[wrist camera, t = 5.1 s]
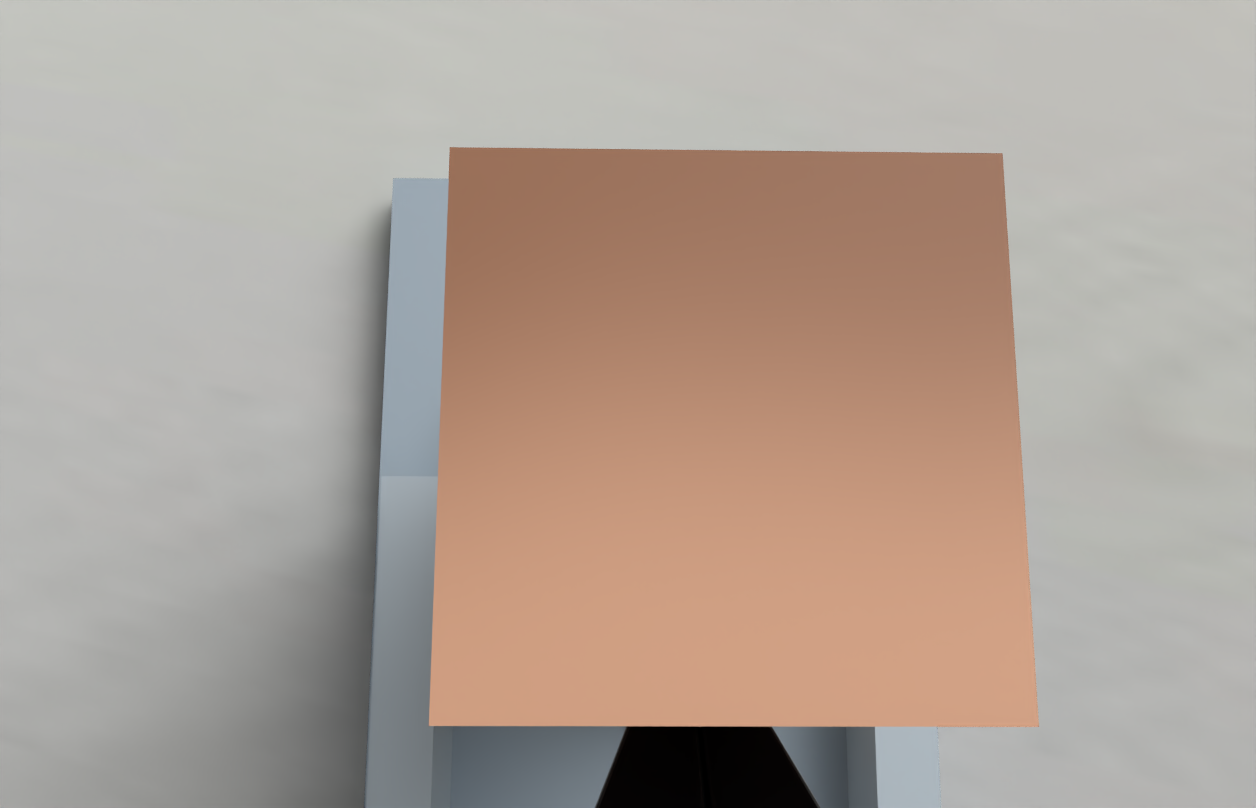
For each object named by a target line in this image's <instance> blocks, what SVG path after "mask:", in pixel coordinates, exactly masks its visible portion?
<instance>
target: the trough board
mask: <svg viewBox="0 0 1256 808" xmlns="http://www.w3.org/2000/svg"><path fill="white" fill-rule="evenodd" d="M448 185H449V179H420V178H393V196H392V218H391V239H390V261H389V282H388V304H387V325H386V347H385V368H384V390H383V412H382V433H381V455H380V476H379V498H378V519H377V541H376V562H375V584H374V606H373V627H372V649H371V670H370V692H369V713H368V735H367V756H366V778H365V800H364V808H595V806H596V803H597V800H598V798H599V795H600V793H601V790H602V788H603V785H604V783H605V780H606V777H607V775H608V772H609V770H610V767H611V765H612V762H613V760H614V757H615V754H616V752H617V749H618V747H619V744H620V742H621V739H622V737H623V734H624V731H625V729H626V726H429V707H430V680H431V652H432V625H433V597H434V570H435V542H436V515H437V487H438V460H439V432H440V405H441V377H442V350H443V323H444V295H445V268H446V240H447V213H448ZM772 727H773V729H774V731H775V732H776V734H777V736H778V737H779V739H780V741H781V742H782V744H783V746H784V747H785V749H786V751H787V752H788V754H789V756H790V757H791V759H792V761H793V762H794V764H795V766H796V767H797V769H798V770H799V772H800V774H801V775H802V777H803V779H804V780H805V782H806V784H807V785H808V787H809V789H810V790H811V792H812V794H813V795H814V797H815V799H816V800H817V802H818V804H819V805H820V807H821V808H941V791H940V770H939V749H938V728H937V727H777V726H772Z"/></svg>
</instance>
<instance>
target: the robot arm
mask: <svg viewBox="0 0 1256 808" xmlns="http://www.w3.org/2000/svg"><path fill="white" fill-rule="evenodd" d="M595 808H821V807H820V805H819V804H818V802H817V800H816V799H815V797H814V795H813V794H812V792H811V790H810V789H809V787H808V785H807V784H806V782H805V780H804V779H803V777H802V775H801V774H800V772H799V770H798V769H797V767H796V766H795V764H794V762H793V761H792V759H791V757H790V756H789V754H788V752H787V751H786V749H785V747H784V746H783V744H782V742H781V741H780V739H779V737H778V736H777V734H776V732H775V731H774V729H773V727H772V726H626V729H625V731H624V734H623V737H622V739H621V742H620V744H619V747H618V749H617V752H616V754H615V757H614V760H613V762H612V765H611V767H610V770H609V772H608V775H607V777H606V780H605V783H604V785H603V788H602V790H601V793H600V795H599V798H598V800H597V803H596V806H595Z"/></svg>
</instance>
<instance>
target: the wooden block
mask: <svg viewBox="0 0 1256 808" xmlns="http://www.w3.org/2000/svg"><path fill="white" fill-rule="evenodd" d="M429 726H777V727H1039V721H1038V706H1037V690H1036V674H1035V658H1034V643H1033V627H1032V611H1031V595H1030V580H1029V564H1028V548H1027V532H1026V517H1025V501H1024V485H1023V469H1022V454H1021V438H1020V422H1019V407H1018V391H1017V375H1016V359H1015V344H1014V328H1013V312H1012V296H1011V281H1010V265H1009V249H1008V233H1007V218H1006V202H1005V186H1004V170H1003V155H1002V153H914V152H822V151H731V150H640V149H549V148H457V147H450V158H449V185H448V213H447V240H446V268H445V295H444V323H443V350H442V377H441V405H440V432H439V460H438V487H437V515H436V542H435V570H434V597H433V625H432V652H431V680H430V707H429Z"/></svg>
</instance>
